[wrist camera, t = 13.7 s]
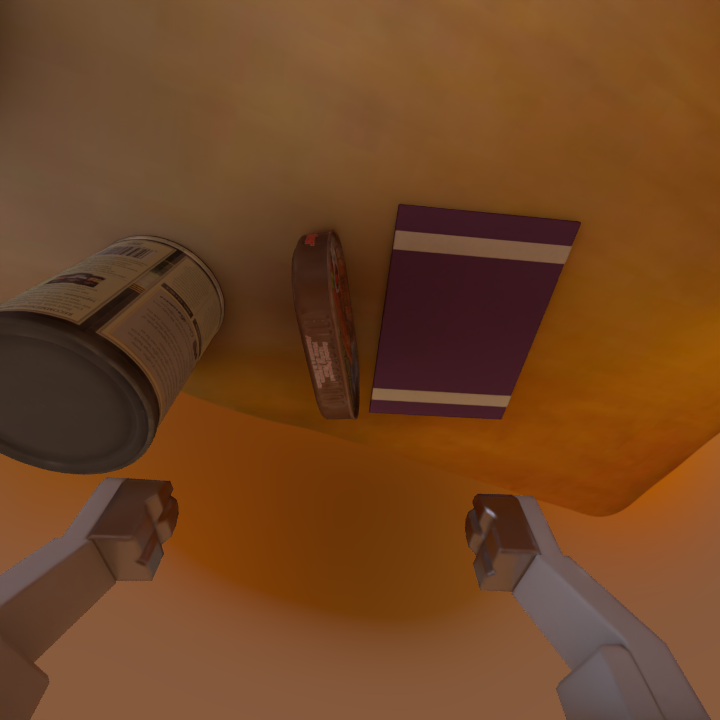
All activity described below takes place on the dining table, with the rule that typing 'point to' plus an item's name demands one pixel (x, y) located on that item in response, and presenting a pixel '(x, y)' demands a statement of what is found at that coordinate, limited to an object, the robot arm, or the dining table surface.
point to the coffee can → (103, 354)
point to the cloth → (463, 308)
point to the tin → (326, 323)
